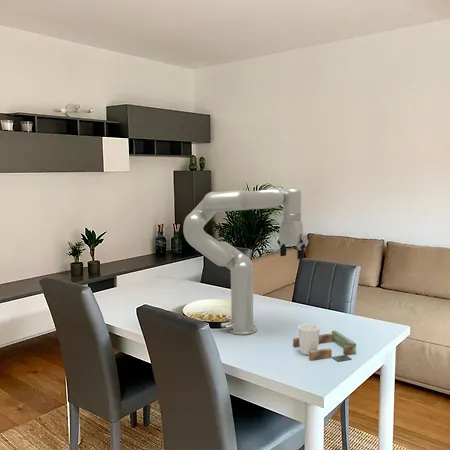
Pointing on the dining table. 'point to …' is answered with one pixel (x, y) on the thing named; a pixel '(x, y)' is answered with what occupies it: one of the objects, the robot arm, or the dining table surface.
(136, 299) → the dining table surface
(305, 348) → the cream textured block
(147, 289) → the dining table surface
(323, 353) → the brown and green pieces
